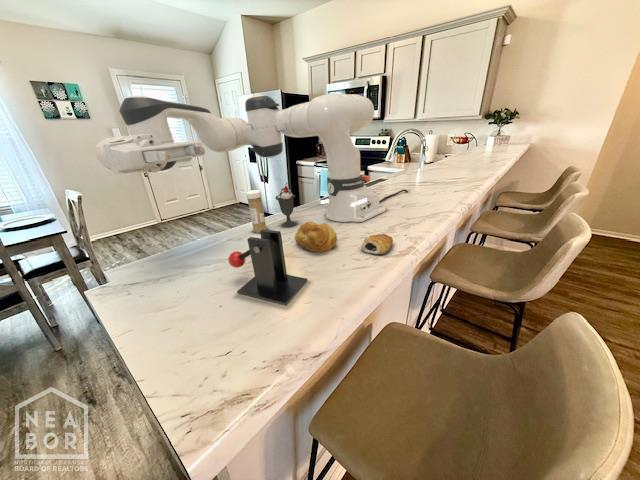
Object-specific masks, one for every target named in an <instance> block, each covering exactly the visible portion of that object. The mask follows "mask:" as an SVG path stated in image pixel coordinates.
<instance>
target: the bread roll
mask: <svg viewBox="0 0 640 480" xmlns="http://www.w3.org/2000/svg"><path fill="white" fill-rule="evenodd" d="M294 241H295V243H296V244H297V245H298V246H300V247H301V248H302V249H305V251H308V252H311V253H316V254H320V253H325V252H329V251H330V250H332V249H333V248H334V247H335V246H336V245H337V243H338V235H337V232H336V231H335V230H334V228H333V227H332V226H331V225H329V224H327V223H321V224H320V223H319V224H318V223H317V222H314V221H306V222H305V223H303V224H301V225H300V226H299V227H298V229H297V231H296V233H295V234H294Z"/></svg>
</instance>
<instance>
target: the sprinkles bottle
mask: <svg viewBox="0 0 640 480" xmlns="http://www.w3.org/2000/svg"><path fill="white" fill-rule="evenodd" d="M245 196H246V199H247V203H248V210H249V214H250V215H249V216H250V220H251V224H252V231H253V232H254V233H256V234H257V233H259V234H260V231H261V230H262V229H265V230H268V228H267V225H266V218H265V217H266V216H265V212H264V207H263V202H262V192H261V190H259V189H253V190H248V191H246V192H245Z"/></svg>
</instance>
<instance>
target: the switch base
mask: <svg viewBox="0 0 640 480" xmlns="http://www.w3.org/2000/svg"><path fill="white" fill-rule="evenodd" d="M268 234H271V236H272V237H273V239H274V240H275V242H276V244H275V245H274V246H273V247H271V248H270V242H269V239H262V238H263V237H265V236H267V235H268ZM259 235H260V237H253V236H250V237H248V238H247V245H248V250H250V254H251V255H250V259H251V263H252V268H253V274H254V276H253V277H252V278H250V280H249V281H247V282H246V283H245V284H244V285H242V286H241V287H240V288H239V289H238V290H237V291H236V293H237V294H238V295H242V296H246V297H250V298H254V299H258V300H262V301H266V302H270V303H274V304H277V305H282V306H285V307H286V306H288V305H289V304H290V303H291V301H292V300H293V299H294V298H295V297H296V295H297V294H298V293H299V292H300V290H301V289H302V288H303V287H304V286H305V285H306V284H307V283H308V281H309V280H308V278H305V277H302V276H296V275H291V274H288V272H287V266H286V259H285V251H284V246H283V244H284V243H283V239H282V232H281V230H272V229H266V230H265V229H262V230H261V231H260V233H259Z"/></svg>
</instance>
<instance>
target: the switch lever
mask: <svg viewBox="0 0 640 480" xmlns="http://www.w3.org/2000/svg"><path fill="white" fill-rule="evenodd" d="M262 239H269V242H270V248H271V247H273V246H274V245H275V244H276V242H275V240H274V239H273V237H272V236H271V234H268V235H267V236H265V237H263V238H262ZM249 256H251V254H250V249H248V250H246V251H244V252H242V251H237V250H236V251H232V252H231V253H230V254H229V256H228V258H227V259H228V264H229V266H231V267H232V268H235V269H238V268H242V267H243V266H244V265H245V263H246V259H247V257H249Z"/></svg>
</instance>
